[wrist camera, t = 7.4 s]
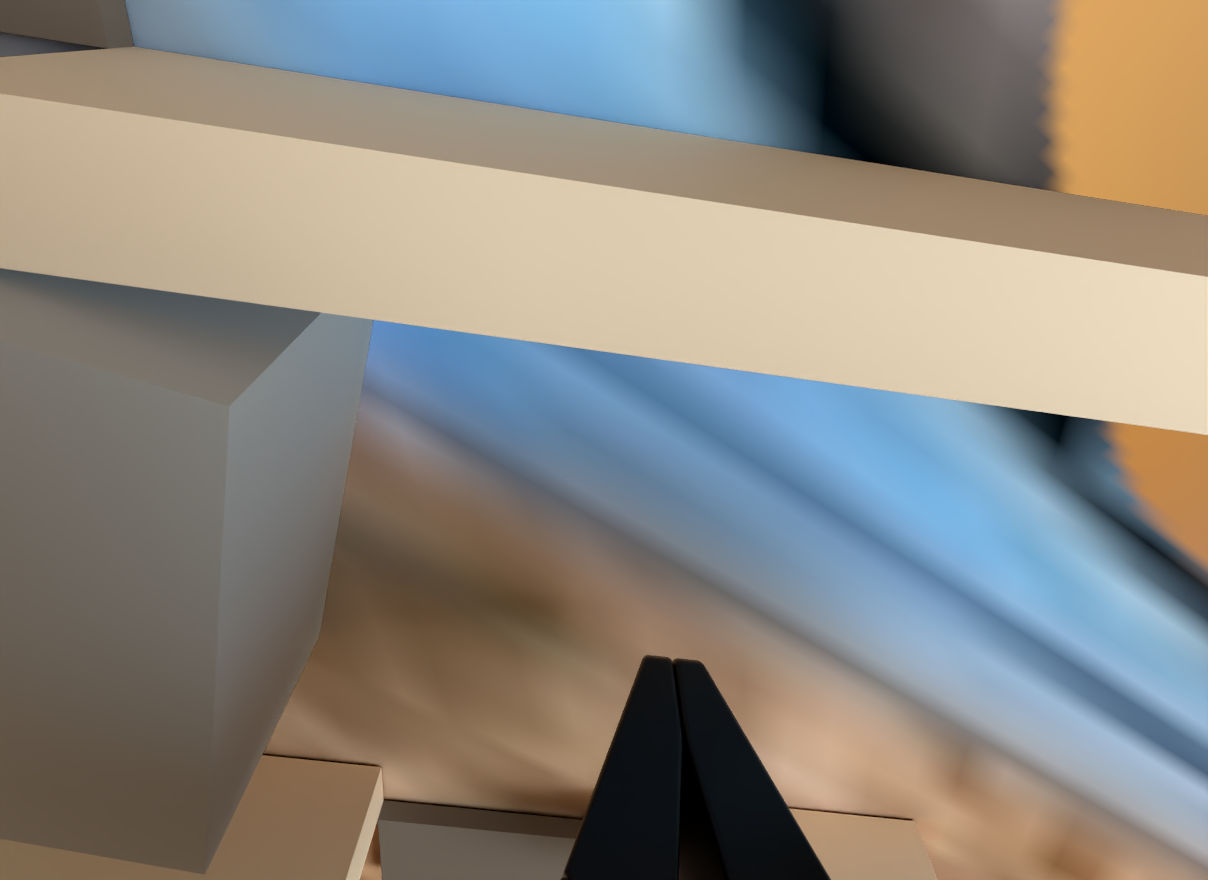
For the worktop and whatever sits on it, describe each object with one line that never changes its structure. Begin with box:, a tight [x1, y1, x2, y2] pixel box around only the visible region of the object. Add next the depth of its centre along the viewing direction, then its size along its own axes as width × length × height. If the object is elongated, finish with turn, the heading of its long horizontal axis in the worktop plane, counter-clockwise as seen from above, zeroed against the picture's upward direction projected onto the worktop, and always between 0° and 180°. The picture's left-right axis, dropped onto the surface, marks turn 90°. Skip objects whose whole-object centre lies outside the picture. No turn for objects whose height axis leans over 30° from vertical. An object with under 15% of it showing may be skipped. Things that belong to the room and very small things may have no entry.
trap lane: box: [0, 47, 1208, 880], centre depth 9 cm, size 20×13×3 cm
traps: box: [0, 0, 583, 880], centre depth 10 cm, size 6×22×1 cm, turn 16°
